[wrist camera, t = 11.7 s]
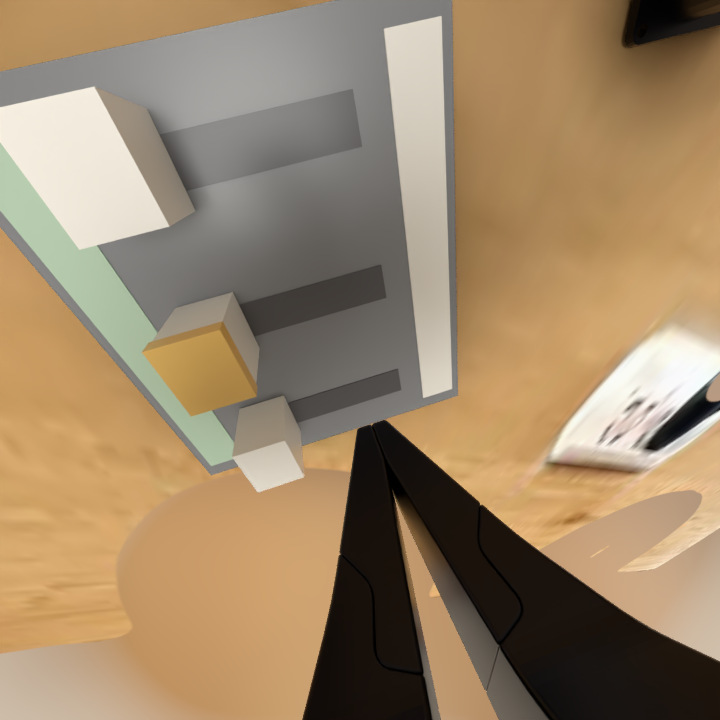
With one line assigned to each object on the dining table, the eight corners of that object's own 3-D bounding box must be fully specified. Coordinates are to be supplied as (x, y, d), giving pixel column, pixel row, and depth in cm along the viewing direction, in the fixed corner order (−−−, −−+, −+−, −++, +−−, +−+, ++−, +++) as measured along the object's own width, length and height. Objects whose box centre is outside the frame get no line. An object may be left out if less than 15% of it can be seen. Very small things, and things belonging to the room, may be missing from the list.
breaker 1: (146, 108, 11) (94, 86, 8) (195, 211, 13) (169, 226, 10) (65, 126, 11) (-22, 112, 8) (128, 228, 13) (79, 250, 10)
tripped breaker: (233, 290, 16) (219, 329, 12) (260, 348, 18) (256, 396, 14) (173, 307, 15) (141, 352, 12) (209, 363, 18) (191, 416, 14)
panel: (434, -7, 13) (452, -26, 11) (449, 384, 25) (458, 396, 24) (-70, 102, 11) (-115, 94, 10) (214, 459, 24) (211, 476, 23)
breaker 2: (283, 395, 20) (284, 440, 17) (300, 430, 22) (304, 476, 19) (239, 408, 20) (232, 457, 17) (260, 443, 22) (257, 492, 19)
